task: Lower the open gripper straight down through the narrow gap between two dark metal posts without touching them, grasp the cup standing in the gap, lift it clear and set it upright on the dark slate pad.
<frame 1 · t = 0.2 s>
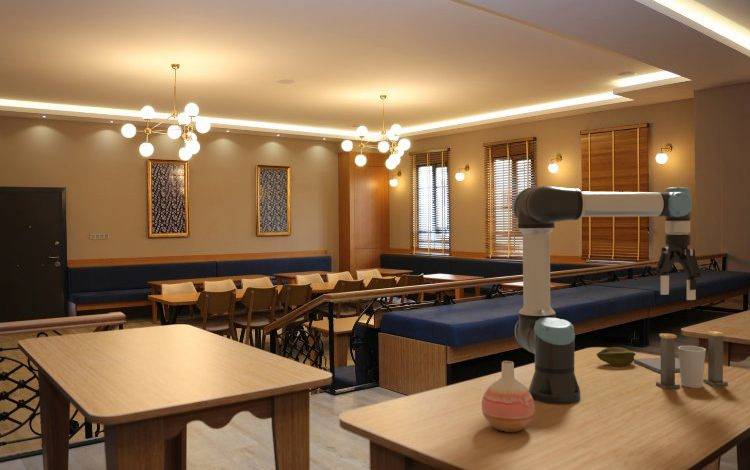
hand: (677, 297, 210), 28 cm above the table, fingers open, 13 cm apart
post 2: (715, 383, 204), on the table
post 1: (667, 386, 202), on the table
vase: (508, 429, 164), on the table
pad: (666, 366, 228), on the table
cup: (691, 385, 203), on the table
fruit: (616, 365, 231), on the table
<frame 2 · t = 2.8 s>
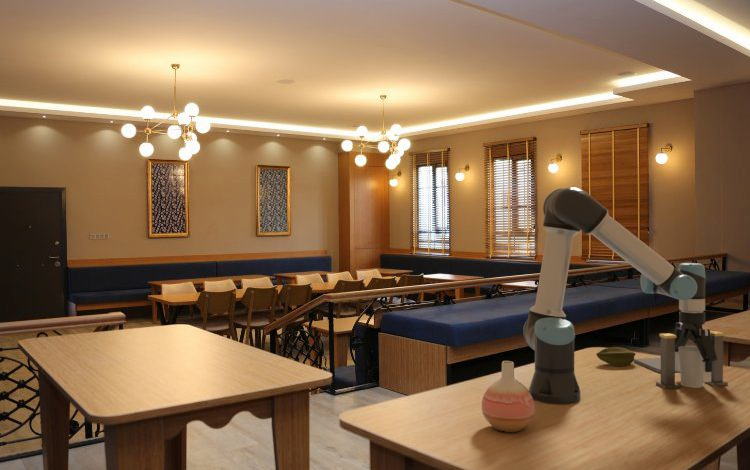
hand: (692, 376, 203), 3 cm above the table, fingers open, 13 cm apart
nothing on the table moved.
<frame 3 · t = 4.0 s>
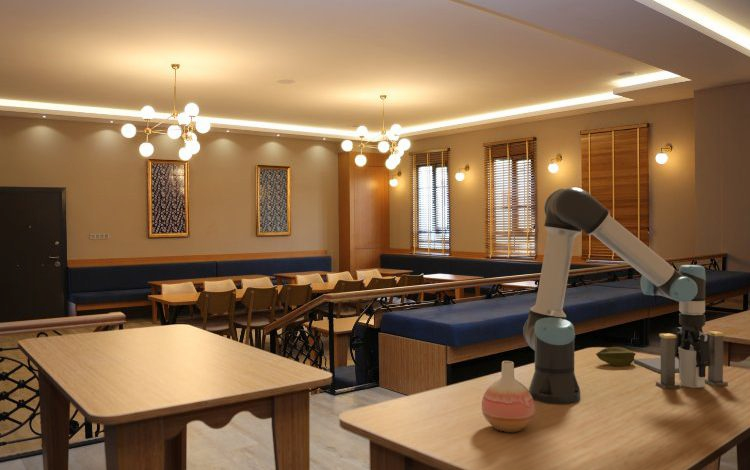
hand: (691, 383, 203), 1 cm above the table, fingers closed on cup, 7 cm apart
cup: (691, 385, 203), on the table, touching gripper
everything else where it was.
when the fingers open (4 cm above the table, at t = 11.2 s): cup drops 2 cm, resting on pad.
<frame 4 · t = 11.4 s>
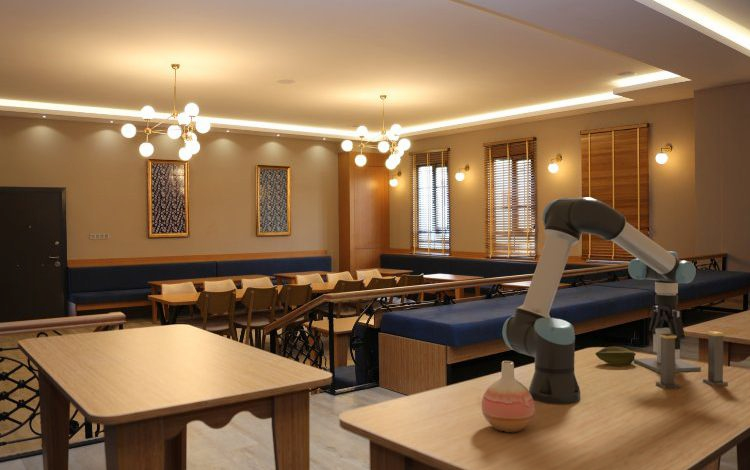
hand: (666, 354, 228), 4 cm above the table, fingers open, 10 cm apart
cup: (666, 363, 228), point 1 cm above the table, touching pad
everything else where it was.
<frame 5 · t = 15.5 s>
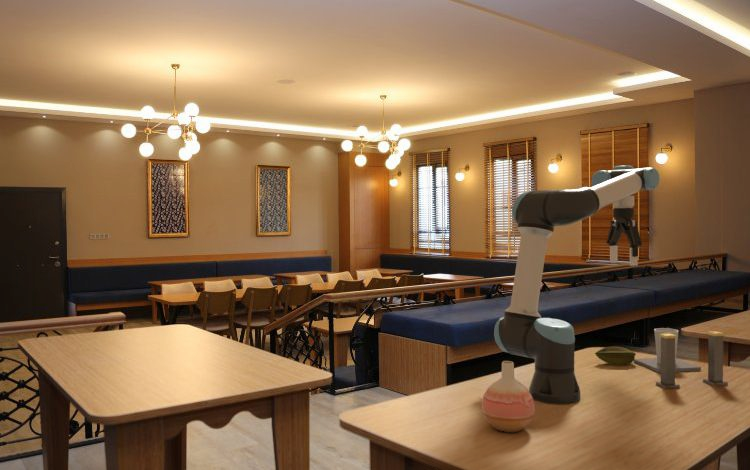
hand: (623, 264, 235), 37 cm above the table, fingers open, 13 cm apart
nothing on the table moved.
at the end: cup inside the target area on the pad (0.2 cm from its centre), point 1.0 cm above the pad's base; cup tilted 1°; the gripper is holding nothing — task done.
